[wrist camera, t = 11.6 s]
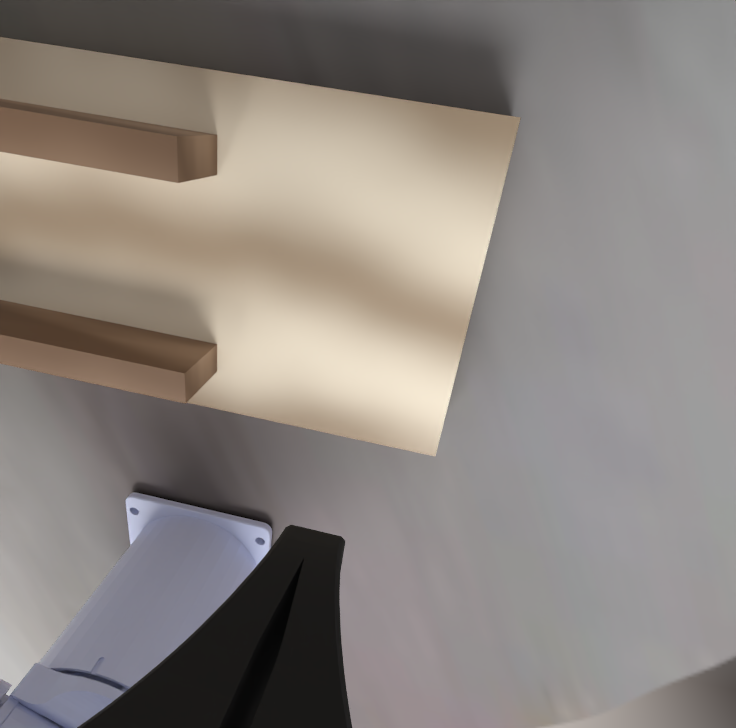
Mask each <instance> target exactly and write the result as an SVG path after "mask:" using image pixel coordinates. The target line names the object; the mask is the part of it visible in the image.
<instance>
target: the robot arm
mask: <svg viewBox="0 0 736 728" xmlns="http://www.w3.org/2000/svg"><path fill="white" fill-rule="evenodd" d="M125 502H126V511H127V520H128V529H129V538H130V547H129V548H128V549H127V550H126V552H125V553H124V554H123V556H122V557H121V558H120V559H119V561H118V562H117V563H116V564H115V566H114V567H113V568H112V570H111V571H110V572H109V573H108V575H107V576H106V577H105V579H104V580H103V581H102V582H101V584H100V585H99V586H98V587H97V589H96V590H95V591H94V593H93V594H92V595H91V596H90V598H89V599H88V600H87V602H86V603H85V604H84V605H83V607H82V608H81V609H80V610H79V612H78V613H77V614H76V616H75V617H74V618H73V619H72V621H71V622H70V623H69V625H68V626H67V627H66V628H65V630H64V631H63V632H62V634H61V635H60V636H59V637H58V639H57V640H56V641H55V642H54V644H53V645H52V646H51V648H50V649H49V650H48V651H47V653H46V654H45V655H44V657H43V658H42V659H41V660H40V662H39V663H36V664H34V665H33V667H32V668H31V669H30V670H29V672H28V673H27V674H26V676H25V677H24V678H23V679H22V681H21V682H20V683H19V684H18V686H17V687H16V688H15V689H14V691H13V692H12V693H11V695H10V696H7V695H5V694H6V693H7V691H8V690H9V689H10V687H11V686H12V685H11V684H9V683H7V682H6V681H4V680H1V679H0V728H352V724H351V718H350V712H349V705H348V698H347V691H346V684H345V675H344V666H343V656H342V645H341V632H340V606H339V587H340V570H341V564H342V558H343V552H344V546H345V540H344V539H343V538H342V537H341V536H337V535H333V534H328V533H324V532H320V531H316V530H311V529H307V528H303V527H298V526H294V525H290V526H288V527H286V528H285V529H284V531H283V532H282V534H281V535H280V537H279V538H278V539H277V541H276V542H275V544H274V545H273V546H272V548H271V540H272V529H271V527H270V526H269V525H268V524H266V523H264V522H260V521H256V520H251V519H247V518H243V517H239V516H234V515H230V514H226V513H222V512H217V511H213V510H209V509H205V508H200V507H196V506H192V505H187V504H183V503H179V502H175V501H170V500H166V499H162V498H158V497H153V496H149V495H145V494H141V493H135V492H133V493H131V494H130V495H129V496H128V497H127V498H126V501H125ZM261 538H263V539H261Z"/></svg>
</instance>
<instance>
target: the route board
mask: <svg viewBox="0 0 736 728" xmlns="http://www.w3.org/2000/svg"><path fill="white" fill-rule="evenodd" d="M519 122H520V117H513V116H507V115H501V114H494V113H488V112H481V111H475V110H468V109H462V108H455V107H449V106H443V105H436V104H430V103H423V102H417V101H410V100H404V99H397V98H391V97H385V96H378V95H372V94H365V93H359V92H352V91H346V90H339V89H333V88H326V87H320V86H314V85H307V84H301V83H294V82H288V81H281V80H275V79H268V78H262V77H256V76H249V75H243V74H236V73H230V72H223V71H217V70H210V69H204V68H198V67H191V66H185V65H178V64H172V63H165V62H159V61H152V60H146V59H140V58H133V57H127V56H120V55H114V54H107V53H101V52H94V51H88V50H82V49H75V48H69V47H62V46H56V45H49V44H43V43H36V42H30V41H24V40H17V39H11V38H4V37H0V364H5V365H10V366H14V367H19V368H24V369H28V370H33V371H37V372H42V373H47V374H51V375H56V376H60V377H65V378H70V379H74V380H79V381H84V382H88V383H93V384H97V385H102V386H107V387H111V388H116V389H120V390H125V391H130V392H134V393H139V394H144V395H148V396H153V397H157V398H162V399H167V400H171V401H176V402H180V403H185V404H186V403H191V404H196V405H200V406H205V407H210V408H214V409H219V410H223V411H228V412H233V413H237V414H242V415H246V416H251V417H256V418H260V419H265V420H270V421H274V422H279V423H283V424H288V425H293V426H297V427H302V428H307V429H311V430H316V431H320V432H325V433H330V434H334V435H339V436H344V437H348V438H353V439H357V440H362V441H367V442H371V443H376V444H380V445H385V446H390V447H394V448H399V449H404V450H408V451H413V452H417V453H422V454H427V455H431V456H435V455H436V451H437V448H438V444H439V440H440V436H441V432H442V428H443V424H444V420H445V416H446V412H447V408H448V404H449V400H450V396H451V392H452V388H453V384H454V380H455V376H456V372H457V368H458V364H459V360H460V356H461V352H462V348H463V344H464V340H465V337H466V333H467V329H468V325H469V321H470V317H471V313H472V309H473V305H474V301H475V297H476V293H477V289H478V285H479V281H480V277H481V273H482V269H483V265H484V261H485V257H486V253H487V249H488V245H489V241H490V237H491V233H492V229H493V226H494V222H495V218H496V214H497V210H498V206H499V202H500V198H501V194H502V190H503V186H504V182H505V178H506V174H507V170H508V166H509V162H510V158H511V154H512V150H513V146H514V142H515V138H516V134H517V130H518V126H519Z"/></svg>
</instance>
